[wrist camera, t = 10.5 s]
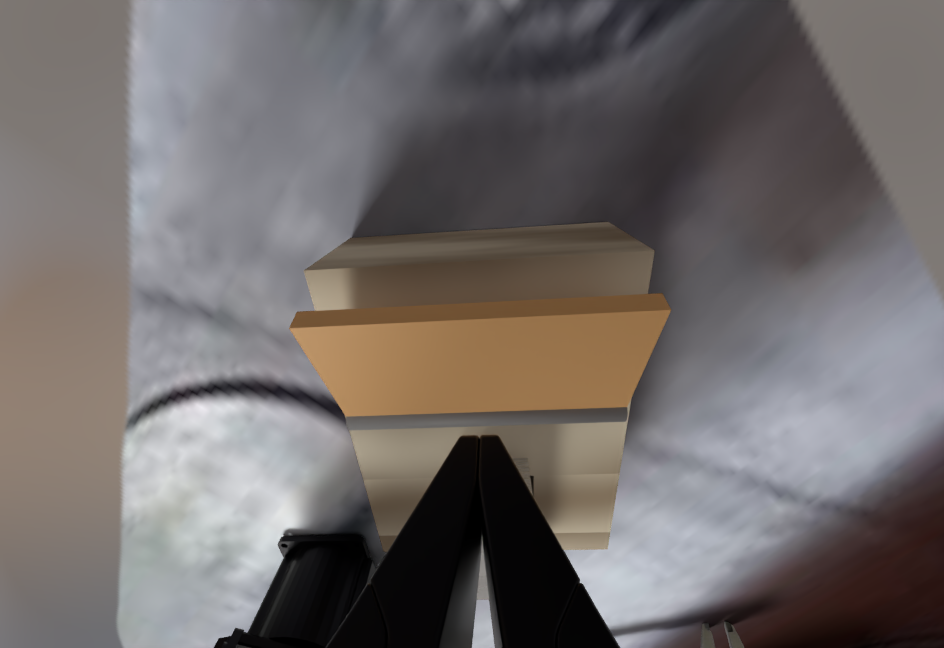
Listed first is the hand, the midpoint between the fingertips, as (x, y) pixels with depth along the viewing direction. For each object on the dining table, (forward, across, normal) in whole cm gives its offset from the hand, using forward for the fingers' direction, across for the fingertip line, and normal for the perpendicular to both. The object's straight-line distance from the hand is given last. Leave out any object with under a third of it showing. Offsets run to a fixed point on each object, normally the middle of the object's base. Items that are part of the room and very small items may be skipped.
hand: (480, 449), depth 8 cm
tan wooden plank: (+5, 0, +1) cm, 5 cm away
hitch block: (+11, 0, +6) cm, 12 cm away
